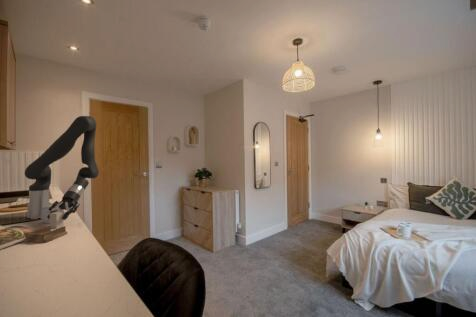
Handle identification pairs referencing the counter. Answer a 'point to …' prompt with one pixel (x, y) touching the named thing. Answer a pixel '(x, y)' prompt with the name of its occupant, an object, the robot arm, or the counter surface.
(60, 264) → the counter surface
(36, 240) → the slot stand
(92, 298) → the counter surface
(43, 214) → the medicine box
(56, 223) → the clay bar
